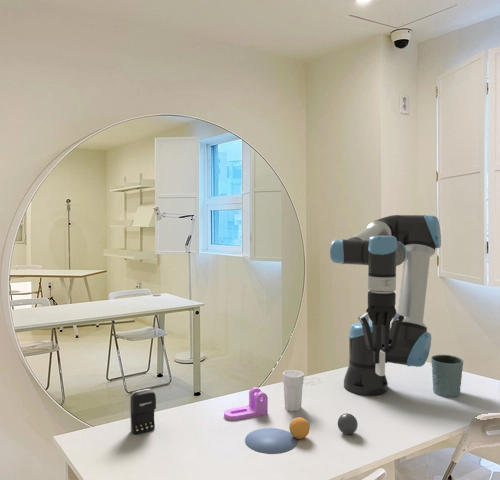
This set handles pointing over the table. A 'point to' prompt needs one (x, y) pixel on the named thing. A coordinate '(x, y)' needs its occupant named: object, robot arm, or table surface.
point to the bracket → (250, 406)
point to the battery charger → (142, 411)
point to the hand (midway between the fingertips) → (380, 374)
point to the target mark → (270, 440)
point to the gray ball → (347, 423)
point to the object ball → (299, 428)
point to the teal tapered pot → (447, 375)
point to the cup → (293, 389)
